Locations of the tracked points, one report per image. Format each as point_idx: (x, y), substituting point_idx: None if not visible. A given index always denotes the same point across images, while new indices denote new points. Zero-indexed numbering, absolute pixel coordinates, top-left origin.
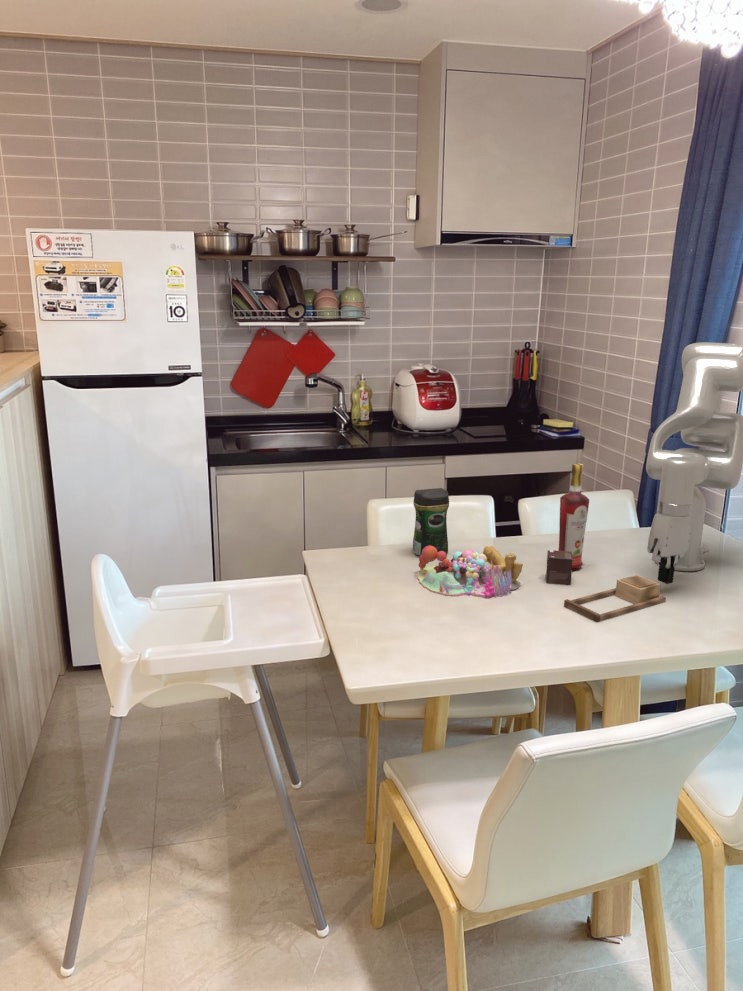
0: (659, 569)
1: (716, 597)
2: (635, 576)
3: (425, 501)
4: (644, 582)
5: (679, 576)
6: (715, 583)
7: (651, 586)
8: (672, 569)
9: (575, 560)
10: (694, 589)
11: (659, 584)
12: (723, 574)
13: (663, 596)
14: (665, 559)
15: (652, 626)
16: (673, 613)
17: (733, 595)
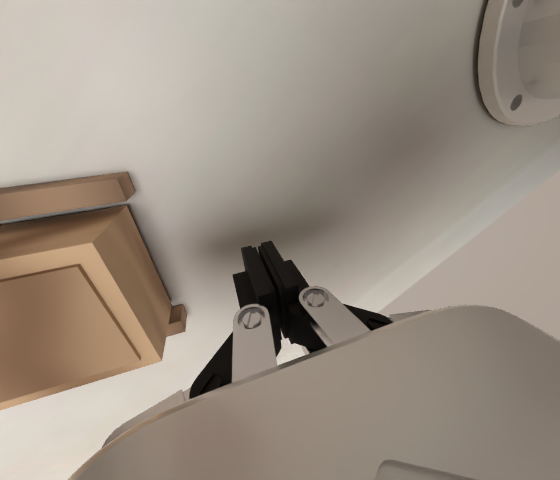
0: (252, 281)
1: (354, 300)
2: (51, 277)
3: None
4: (69, 354)
5: (427, 134)
6: (440, 227)
7: (91, 380)
8: (285, 336)
9: None
10: (358, 247)
11: (153, 362)
12: (518, 181)
13: (181, 324)
14: (310, 320)
15: (29, 428)
16: (162, 367)
17: (394, 297)
